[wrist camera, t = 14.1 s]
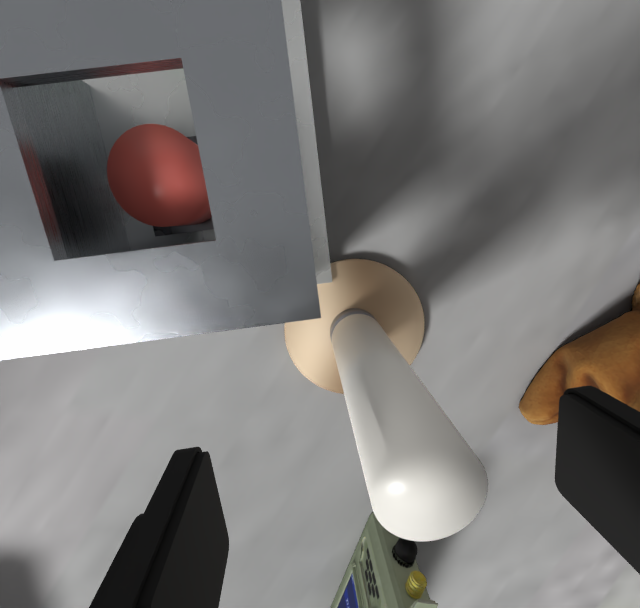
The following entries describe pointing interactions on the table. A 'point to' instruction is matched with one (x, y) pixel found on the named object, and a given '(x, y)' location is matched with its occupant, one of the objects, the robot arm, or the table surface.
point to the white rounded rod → (404, 437)
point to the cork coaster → (364, 293)
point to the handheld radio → (383, 573)
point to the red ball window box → (185, 117)
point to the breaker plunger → (158, 177)
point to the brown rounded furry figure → (590, 367)
